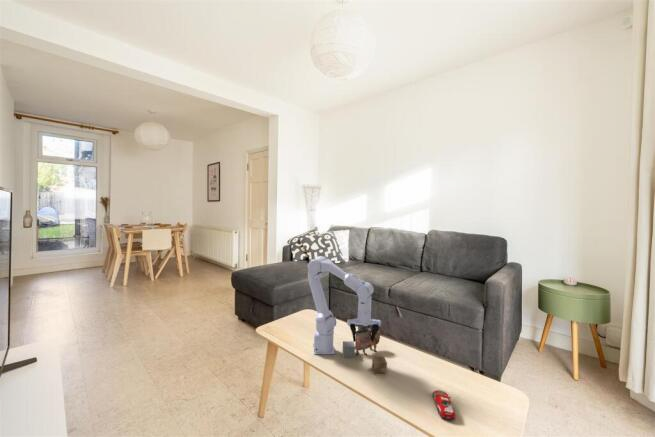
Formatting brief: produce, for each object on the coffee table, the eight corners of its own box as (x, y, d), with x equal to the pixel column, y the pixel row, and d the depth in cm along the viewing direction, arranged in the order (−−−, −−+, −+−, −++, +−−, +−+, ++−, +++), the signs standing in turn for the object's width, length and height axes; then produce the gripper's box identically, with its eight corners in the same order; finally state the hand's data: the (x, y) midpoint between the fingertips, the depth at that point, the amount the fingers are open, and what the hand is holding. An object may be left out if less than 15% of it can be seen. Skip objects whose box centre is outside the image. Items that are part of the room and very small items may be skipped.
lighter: (357, 351, 123) (358, 328, 123) (353, 347, 126) (354, 325, 126) (372, 347, 127) (373, 325, 126) (368, 343, 130) (368, 322, 129)
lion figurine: (374, 345, 143) (374, 327, 142) (382, 349, 138) (383, 331, 138) (352, 354, 133) (353, 335, 133) (360, 359, 129) (361, 340, 129)
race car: (431, 394, 107) (431, 384, 107) (446, 396, 106) (447, 386, 106) (439, 420, 94) (439, 408, 94) (456, 422, 93) (457, 411, 93)
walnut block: (374, 374, 118) (375, 362, 118) (372, 367, 123) (372, 356, 123) (386, 374, 118) (387, 362, 118) (383, 367, 123) (384, 356, 123)
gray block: (343, 357, 131) (343, 346, 130) (342, 351, 136) (342, 341, 135) (354, 357, 131) (354, 346, 130) (352, 351, 136) (353, 341, 135)
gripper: (349, 314, 121) (347, 345, 122) (383, 314, 122) (381, 345, 123) (347, 307, 128) (346, 337, 129) (379, 308, 129) (377, 337, 130)
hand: (363, 340), depth 126 cm, fingers closed on lighter, 7 cm apart
